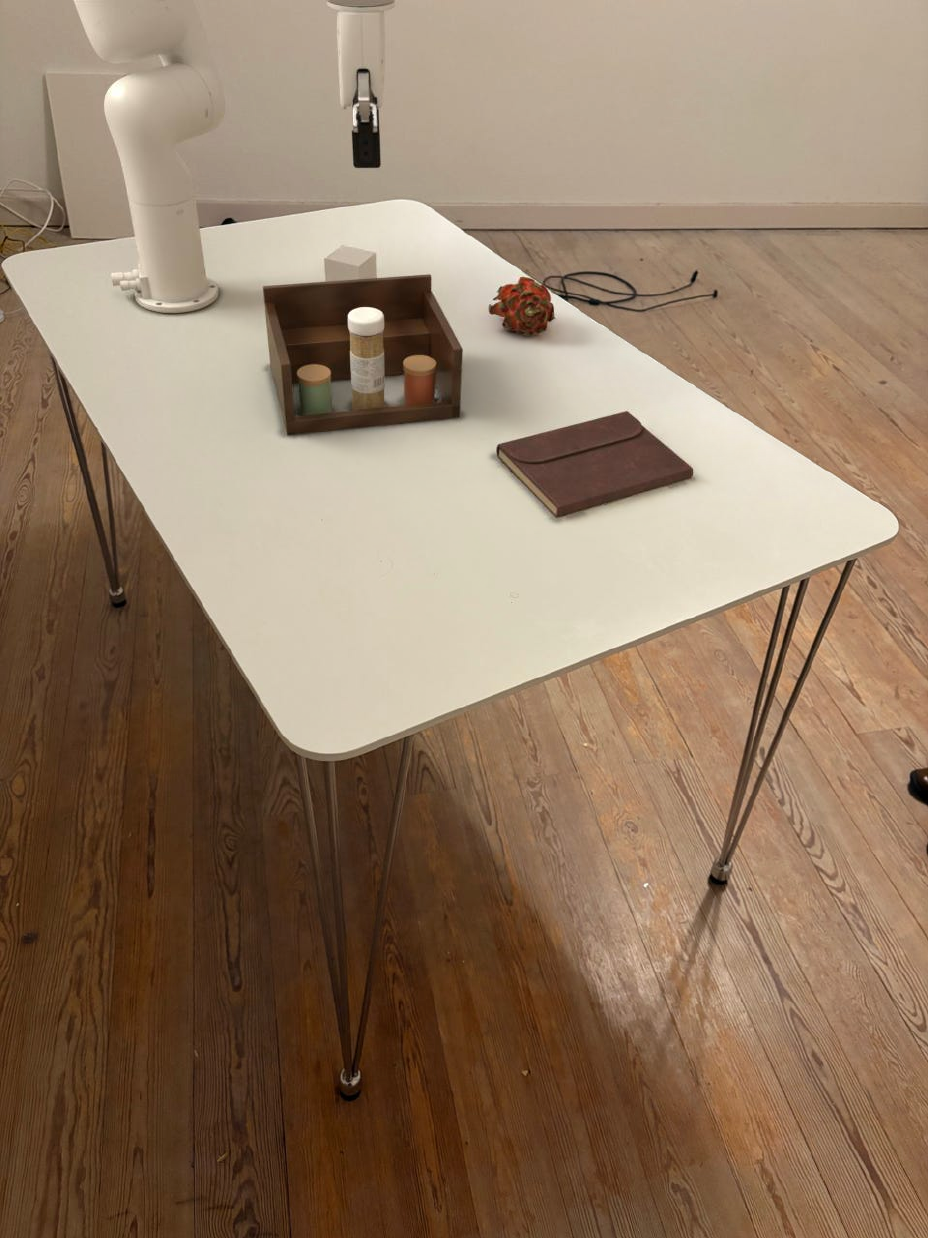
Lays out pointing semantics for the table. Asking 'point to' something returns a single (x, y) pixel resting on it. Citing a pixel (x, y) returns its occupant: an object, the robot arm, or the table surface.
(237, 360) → the table surface
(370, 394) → the sprinkles bottle
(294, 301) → the spice rack
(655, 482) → the notebook
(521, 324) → the dragon fruit
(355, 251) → the light grey cube
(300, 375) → the sage jar
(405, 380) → the terracotta jar
